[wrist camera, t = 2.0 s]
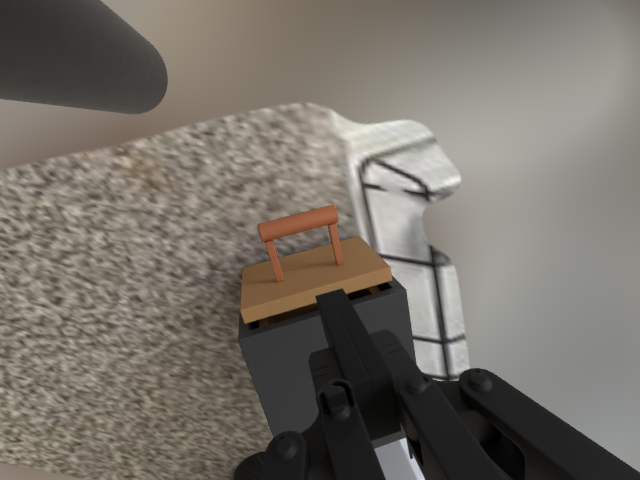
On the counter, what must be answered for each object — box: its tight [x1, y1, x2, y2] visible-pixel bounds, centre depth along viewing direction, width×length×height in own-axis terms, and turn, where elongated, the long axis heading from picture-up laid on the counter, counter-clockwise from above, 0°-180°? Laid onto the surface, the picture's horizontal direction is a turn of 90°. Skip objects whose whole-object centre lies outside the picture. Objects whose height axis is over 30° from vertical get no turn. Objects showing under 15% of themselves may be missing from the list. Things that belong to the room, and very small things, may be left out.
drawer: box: [240, 205, 392, 328], centre depth 29 cm, size 18×11×8 cm, turn 13°
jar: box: [374, 438, 425, 480], centre depth 36 cm, size 9×8×12 cm
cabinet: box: [238, 276, 416, 449], centre depth 31 cm, size 15×13×10 cm
